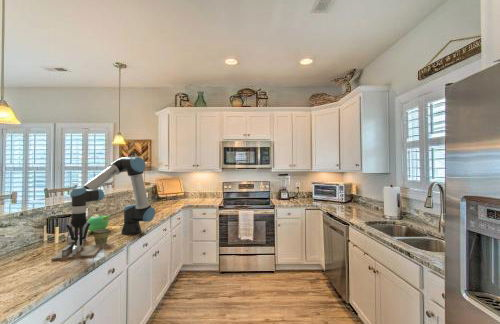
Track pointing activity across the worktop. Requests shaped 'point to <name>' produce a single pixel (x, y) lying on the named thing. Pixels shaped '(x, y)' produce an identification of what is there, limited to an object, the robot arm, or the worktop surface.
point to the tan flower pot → (101, 236)
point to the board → (83, 253)
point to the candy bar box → (74, 228)
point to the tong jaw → (74, 250)
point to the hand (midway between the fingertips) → (78, 250)
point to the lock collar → (72, 240)
